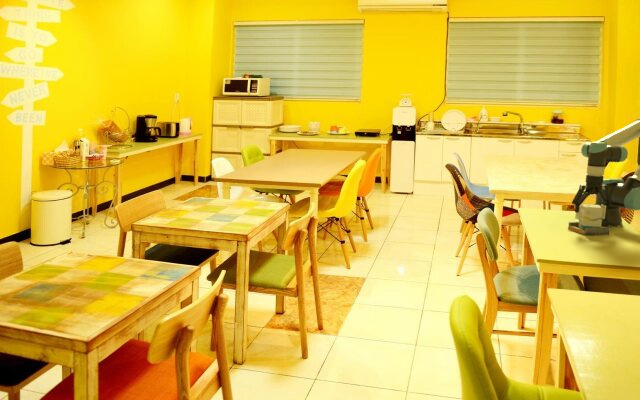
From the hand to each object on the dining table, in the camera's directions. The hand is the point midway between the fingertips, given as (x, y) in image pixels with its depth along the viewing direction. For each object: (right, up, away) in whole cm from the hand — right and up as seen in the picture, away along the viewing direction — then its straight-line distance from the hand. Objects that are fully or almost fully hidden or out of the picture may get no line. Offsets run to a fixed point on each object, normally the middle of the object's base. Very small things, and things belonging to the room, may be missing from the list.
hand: (589, 218), depth 299 cm
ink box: (0, -5, +1) cm, 5 cm away
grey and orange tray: (0, -6, +1) cm, 6 cm away
